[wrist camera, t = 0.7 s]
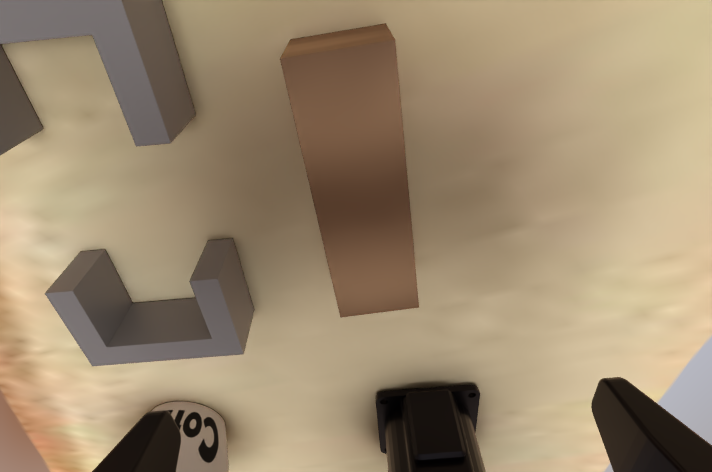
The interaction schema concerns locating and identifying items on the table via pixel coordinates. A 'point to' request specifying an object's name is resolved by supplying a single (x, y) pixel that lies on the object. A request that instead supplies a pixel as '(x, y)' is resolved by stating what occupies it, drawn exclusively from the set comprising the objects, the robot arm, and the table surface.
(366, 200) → the slat
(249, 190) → the table surface
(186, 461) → the cup
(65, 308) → the end cap
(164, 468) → the robot arm
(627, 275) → the table surface
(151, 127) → the end cap
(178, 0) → the table surface
